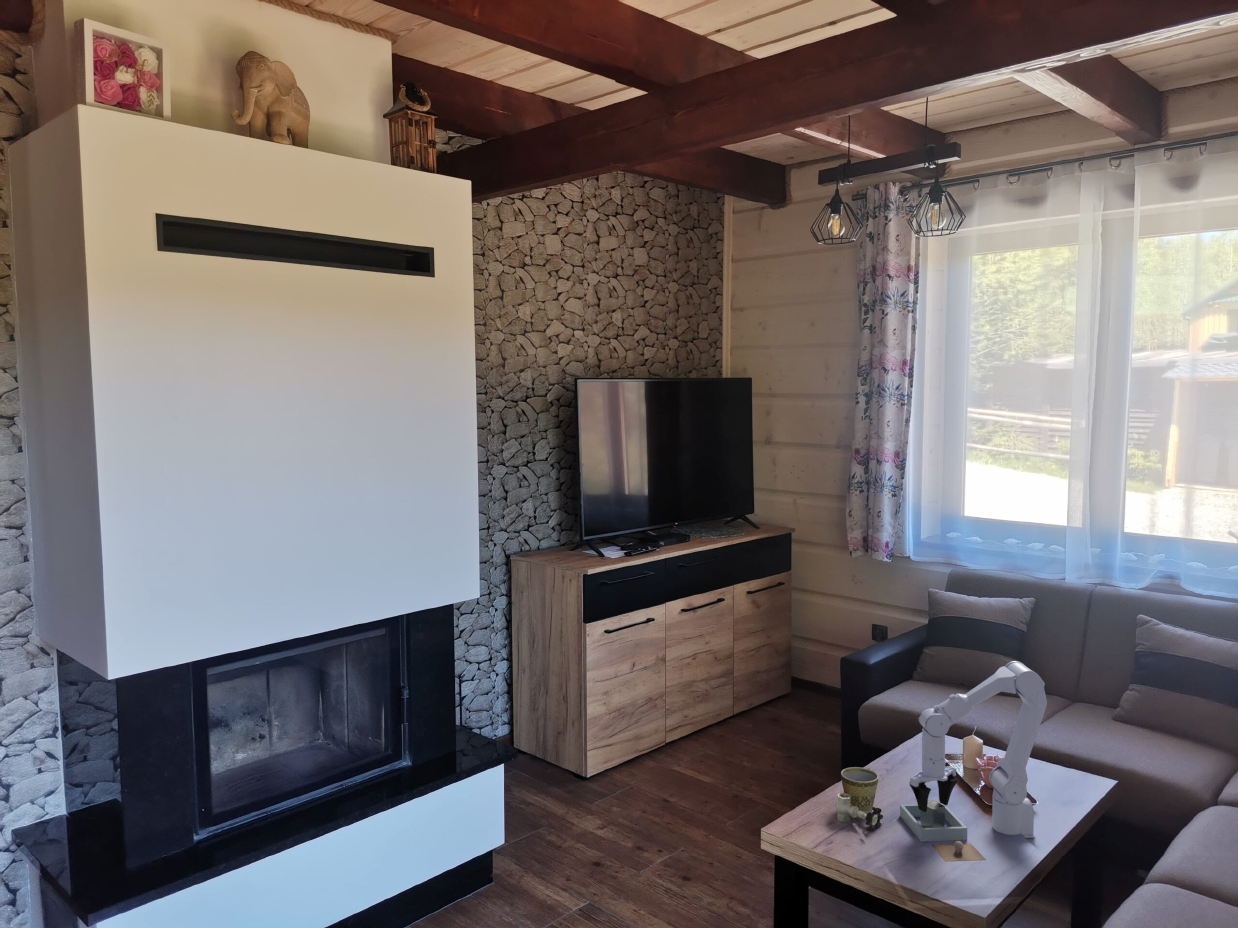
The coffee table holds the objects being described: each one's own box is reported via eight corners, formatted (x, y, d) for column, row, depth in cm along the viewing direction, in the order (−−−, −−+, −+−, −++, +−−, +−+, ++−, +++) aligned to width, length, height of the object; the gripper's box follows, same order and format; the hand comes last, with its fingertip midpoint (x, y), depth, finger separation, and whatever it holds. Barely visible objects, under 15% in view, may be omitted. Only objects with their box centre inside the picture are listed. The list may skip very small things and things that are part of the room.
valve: (830, 820, 234) (868, 836, 225) (830, 796, 234) (869, 811, 225) (844, 812, 239) (883, 828, 230) (844, 789, 238) (883, 804, 229)
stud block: (970, 846, 219) (970, 832, 219) (985, 863, 211) (986, 848, 211) (931, 848, 218) (932, 834, 218) (945, 865, 211) (945, 850, 210)
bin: (943, 817, 235) (943, 803, 235) (967, 843, 221) (967, 827, 221) (899, 819, 234) (900, 804, 234) (920, 844, 220) (921, 829, 220)
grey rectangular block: (932, 823, 230) (932, 799, 230) (944, 830, 227) (944, 805, 226) (920, 826, 229) (920, 802, 228) (932, 833, 225) (933, 809, 224)
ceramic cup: (870, 821, 233) (870, 785, 233) (834, 811, 239) (835, 775, 239) (887, 803, 244) (887, 768, 243) (853, 794, 250) (853, 760, 249)
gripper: (925, 767, 220) (924, 819, 220) (965, 755, 226) (965, 806, 227) (904, 757, 226) (903, 808, 227) (944, 746, 233) (943, 796, 233)
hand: (933, 806), depth 227 cm, fingers open, 7 cm apart
